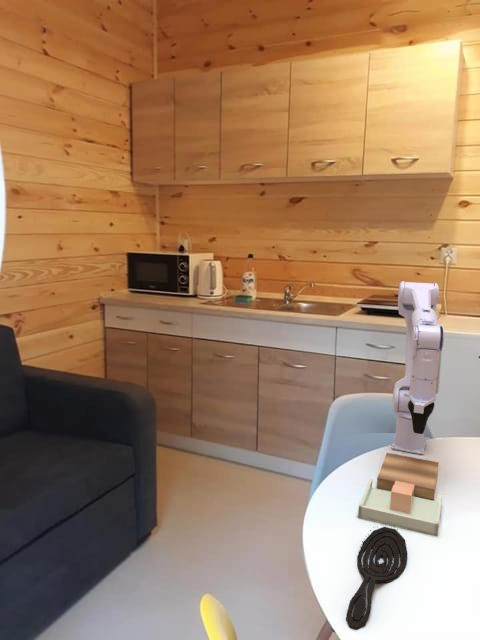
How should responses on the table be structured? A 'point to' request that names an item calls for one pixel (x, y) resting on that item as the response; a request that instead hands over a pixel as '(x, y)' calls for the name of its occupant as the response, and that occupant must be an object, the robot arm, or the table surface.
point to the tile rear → (405, 486)
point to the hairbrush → (376, 570)
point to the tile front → (401, 499)
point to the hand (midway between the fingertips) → (418, 432)
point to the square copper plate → (409, 474)
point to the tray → (419, 519)
